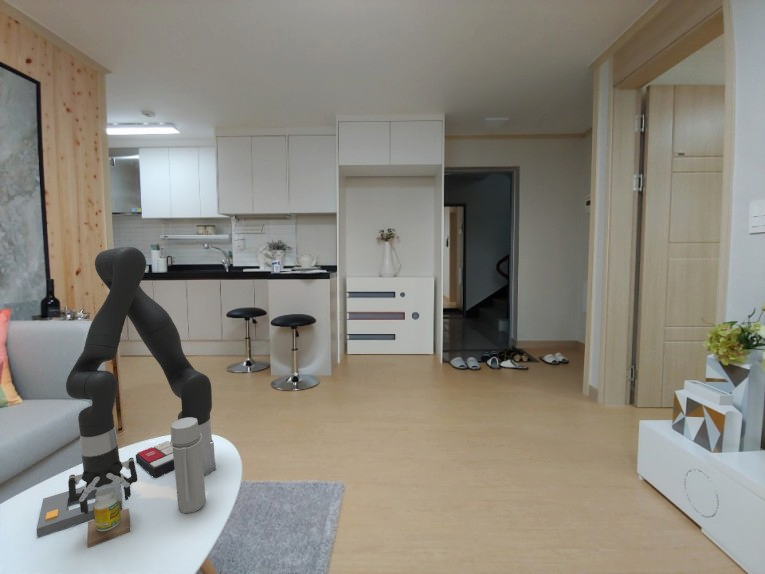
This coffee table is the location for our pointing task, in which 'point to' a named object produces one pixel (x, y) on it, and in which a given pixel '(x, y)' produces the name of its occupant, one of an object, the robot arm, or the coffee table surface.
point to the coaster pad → (100, 537)
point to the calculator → (157, 459)
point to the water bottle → (188, 464)
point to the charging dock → (67, 510)
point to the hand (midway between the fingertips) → (106, 505)
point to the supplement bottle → (106, 509)
